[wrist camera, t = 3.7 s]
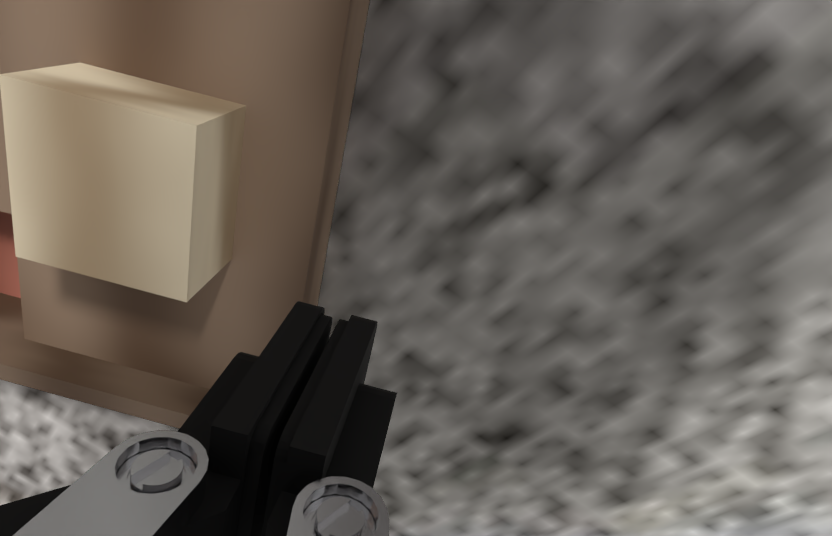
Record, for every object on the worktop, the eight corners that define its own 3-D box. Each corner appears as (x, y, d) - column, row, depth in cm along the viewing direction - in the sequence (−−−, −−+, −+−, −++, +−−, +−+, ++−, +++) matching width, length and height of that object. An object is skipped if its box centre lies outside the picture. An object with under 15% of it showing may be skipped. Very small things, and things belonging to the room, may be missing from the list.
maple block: (246, 105, 17) (196, 125, 14) (231, 259, 19) (186, 302, 16) (79, 62, 17) (-1, 74, 14) (84, 220, 19) (15, 256, 16)
